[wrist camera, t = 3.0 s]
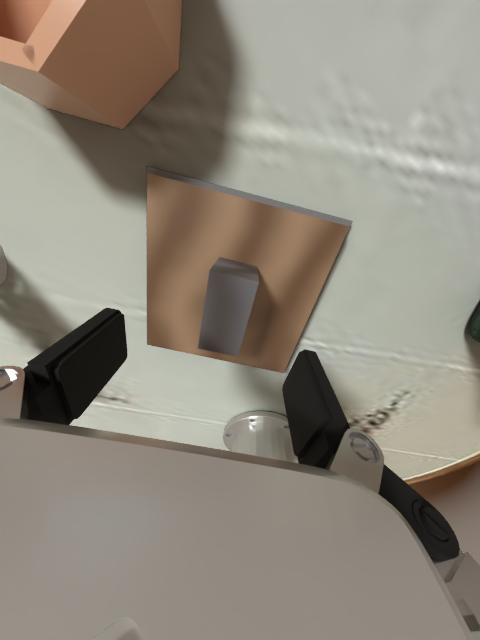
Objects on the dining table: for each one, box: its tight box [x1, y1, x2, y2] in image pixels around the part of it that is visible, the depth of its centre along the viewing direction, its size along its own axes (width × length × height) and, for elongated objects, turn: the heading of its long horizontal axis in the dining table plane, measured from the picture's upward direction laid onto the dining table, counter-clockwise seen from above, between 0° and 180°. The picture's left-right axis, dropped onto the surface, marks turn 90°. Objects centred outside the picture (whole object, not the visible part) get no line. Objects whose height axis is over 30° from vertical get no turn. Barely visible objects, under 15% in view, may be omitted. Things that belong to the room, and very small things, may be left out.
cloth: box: [147, 173, 350, 373], centre depth 18 cm, size 17×17×6 cm
